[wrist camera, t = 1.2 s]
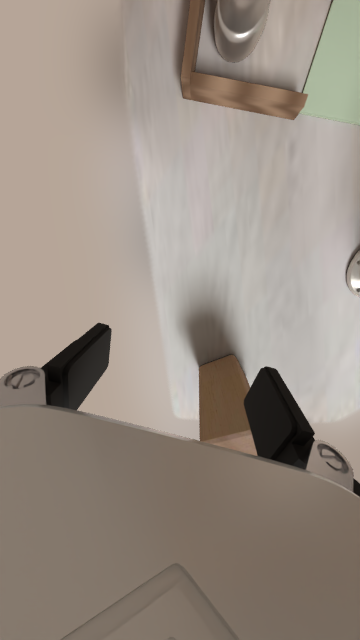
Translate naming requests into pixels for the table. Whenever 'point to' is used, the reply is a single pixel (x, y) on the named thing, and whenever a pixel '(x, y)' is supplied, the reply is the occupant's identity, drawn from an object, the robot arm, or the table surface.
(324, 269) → the table surface
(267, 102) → the bottle rack
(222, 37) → the plastic bottle
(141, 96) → the table surface
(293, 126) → the table surface
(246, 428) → the block
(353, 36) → the mat
